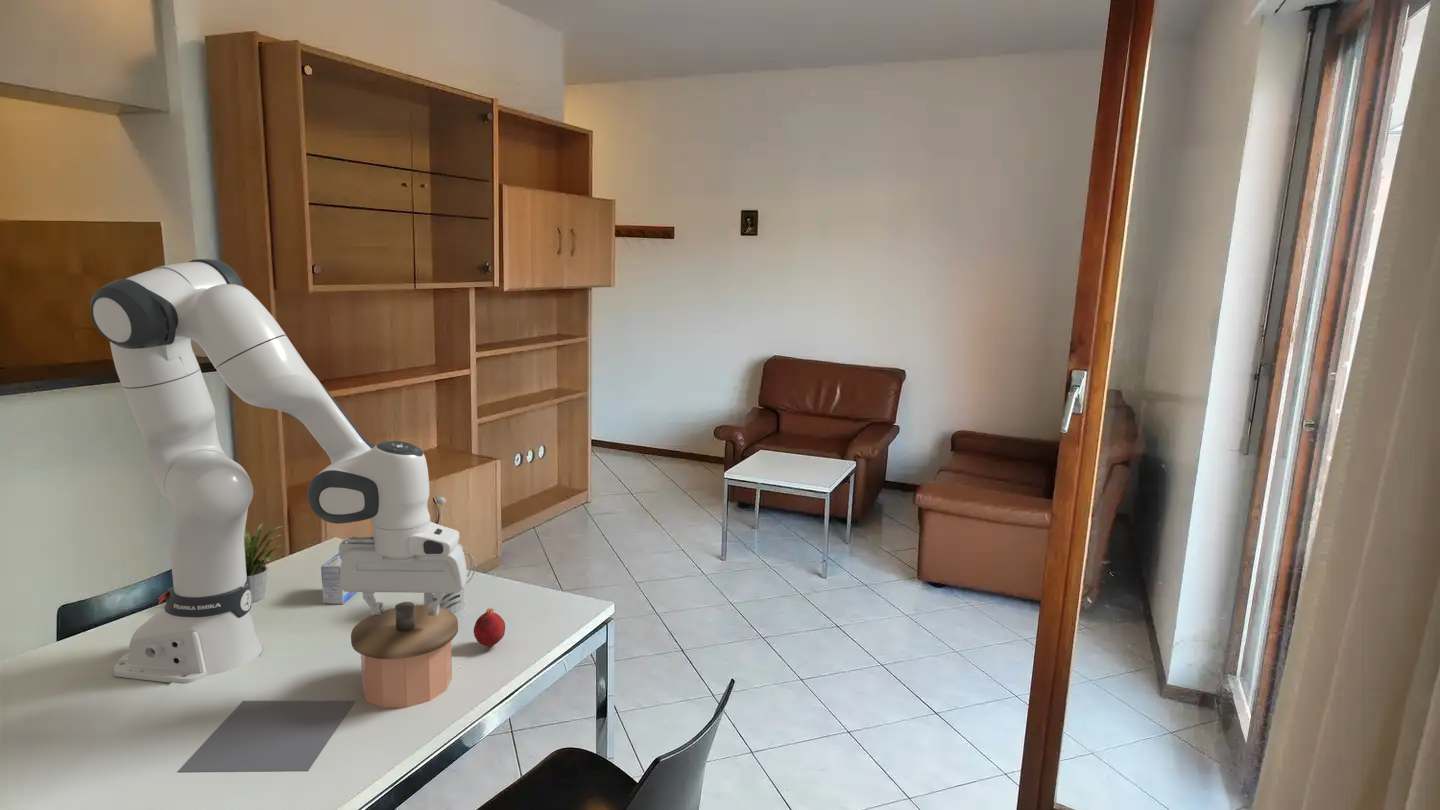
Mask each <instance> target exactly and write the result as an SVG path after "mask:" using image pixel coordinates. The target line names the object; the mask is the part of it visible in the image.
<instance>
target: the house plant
mask: <svg viewBox="0 0 1440 810" xmlns="http://www.w3.org/2000/svg"><path fill="white" fill-rule="evenodd" d="M263 526H264V522H261V523H260V524H259V526H258V527H257V529H256V531H255V533H254V535H252V536H250V533H249V531H248V530H247V528H246V527H245V535H244V546H245V561H246V574H247V576H248V577H249V580H250V588H251V604H252V603H256V602H259V601H261V600H263V599H264V598H265V596H266V589H267V579H268V578H267V577H268V569H269V567H268V566H267V565H266V562H264V561H267V562H268V563H270V561H271V559H272V558H271V556H270V555H271V554H272V553H273V552H274V551H277V552H279V550H278V548H279V547H282V546H284V544H281V545H278V546H275V547H274V548H272V547H270V548H267V547H268V546H269V544H270V543H271V542H272V541H273V540H276V539H277V537H280V536H282V534H279V535H275V536H273V537H269V536H270V535H272V533H274V532H275V531H276V530H278V529H280V528H283V527H286V526H287V525H280V526H277V527H275V528H272V529H270V530H269V531H268V532H267V533H266V534H265V535H264V536H263V538H262V539H261V541H260V542H259V540H260V537H261V535H262V531H263ZM267 540H268V541H267ZM265 541H267V542H266V544H265V545H264V547H263V549H262V551H259V550H260V549H261V547H262V546H263V544H264V543H265ZM258 543H259V544H258ZM258 552H259V553H258ZM267 552H268V553H267ZM265 553H267V554H266V555H265V556H264V557H263V558H261V557H262V556H263V555H264V554H265ZM260 558H261V559H260Z"/></svg>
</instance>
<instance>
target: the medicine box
mask: <svg viewBox="0 0 1440 810" xmlns="http://www.w3.org/2000/svg"><path fill="white" fill-rule="evenodd" d="M341 561H342V560H341V559H340V557H339V552H338V553H337V554H336V555H334V556H333V557H332V558H330V559H329V560H328V561H326V562H325V563H324V564H322V565H321V566H320V572H321V573H320V575H321V586H322V587H321V588H322V600H323V601H322V602H323V604H329V605H330V604H331V605H334V604H335V605H344V604H346V602H348V601H349V600H350V598H352V597H353V596H355V594H356V593H357V592H345V591H343V589H342V588H341V587H340V568H341Z"/></svg>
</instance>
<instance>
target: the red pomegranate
mask: <svg viewBox="0 0 1440 810" xmlns="http://www.w3.org/2000/svg"><path fill="white" fill-rule="evenodd" d="M494 610H495V609H494V608H492V607H488V608H487V609H486V611H485V612H484V613H483V614H481V615H480V616H479V617H478V618H477V619H476V621H475V624H474V627H473V636H474V638H475V640H476V641H477V643H479V644H480V645H481V646H484V647H487V648H488V649H489V648H493V647H494V646H495V645H496V644H498V643H499V642H501V640H502V639H503V638H504V636H505V633H506V623H505V620H504V618H502V616H501V615H499V614H498V613H496V612H494Z"/></svg>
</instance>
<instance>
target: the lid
mask: <svg viewBox="0 0 1440 810" xmlns="http://www.w3.org/2000/svg"><path fill="white" fill-rule="evenodd" d="M458 631H459V620H458V618H457V617H456V616H455V615H454V614H453V613H452V612H450V611H448V610H446V609H443V608H439V614H438V615H437V616H428V606H424V604H423V605H418V604H417V605H416V604H415V603H414V602H412V601H403V602H399V603H397V604H396V605H395V606H394V607H393V608H388V609H386V610H385V609H384V610H383V612H382V614H381V615H374V616H373V615H371V614H370V615H369V616H367V617H364V619H362V620H361V621H359V622H358V623H357V624H356V625H354V627H353V629H352V630H351V633H350V643H351V647H352V648H353V650H354V651H355V652H357V653H358V654H359V655H361V654H362V655H364V656H367V657H371V658H377V659H402V658H409V657H415V656H419V655H423V654H426V653H429V652H432V651H434V650H437V649H439V648H441V647H443V646H444V645H446V644H447V643H449V642H450V641H451V642H452V640H454V638H455V637H456V636H457V634H458Z"/></svg>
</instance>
